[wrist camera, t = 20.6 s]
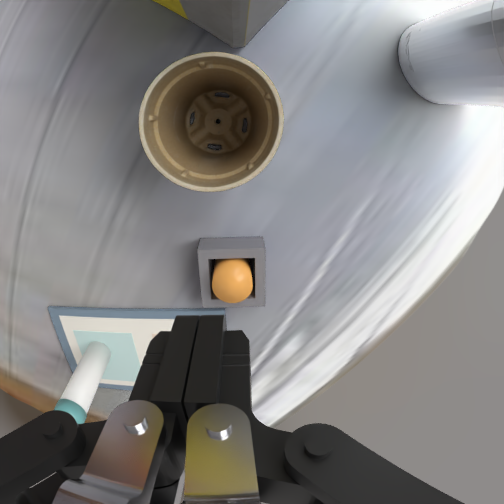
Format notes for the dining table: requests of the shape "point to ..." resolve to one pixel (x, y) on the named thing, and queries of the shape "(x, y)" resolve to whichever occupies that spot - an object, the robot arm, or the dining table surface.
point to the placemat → (115, 336)
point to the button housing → (227, 250)
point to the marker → (85, 381)
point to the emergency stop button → (227, 16)
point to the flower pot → (211, 121)
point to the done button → (232, 279)
